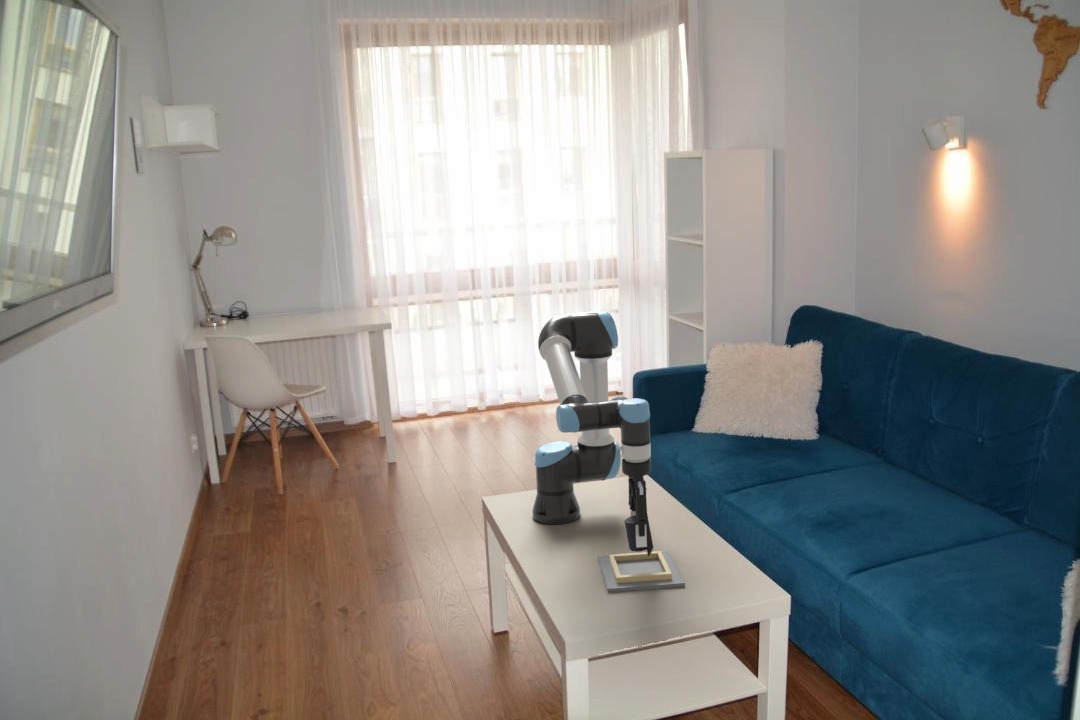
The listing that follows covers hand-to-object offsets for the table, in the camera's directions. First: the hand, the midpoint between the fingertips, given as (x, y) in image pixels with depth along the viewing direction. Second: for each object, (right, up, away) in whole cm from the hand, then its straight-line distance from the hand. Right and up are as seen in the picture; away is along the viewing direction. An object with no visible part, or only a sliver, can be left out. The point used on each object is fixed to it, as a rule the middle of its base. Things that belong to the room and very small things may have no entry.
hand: (638, 540), depth 229 cm
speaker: (0, -3, 0) cm, 3 cm away
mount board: (0, -9, +2) cm, 9 cm away
